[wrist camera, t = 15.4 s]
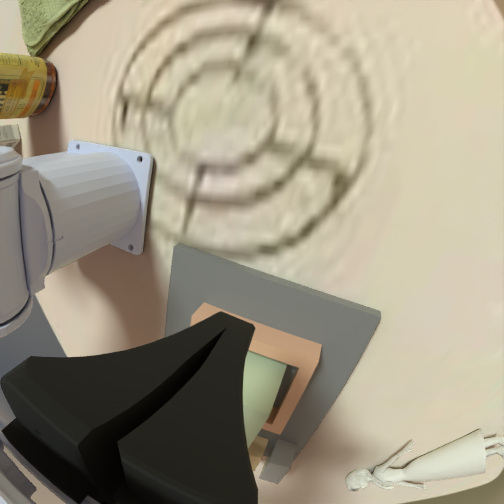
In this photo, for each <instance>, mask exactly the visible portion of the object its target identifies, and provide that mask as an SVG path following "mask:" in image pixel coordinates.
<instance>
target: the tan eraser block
mask: <svg viewBox="0 0 504 504" xmlns="http://www.w3.org/2000/svg"><path fill="white" fill-rule="evenodd" d="M268 440H269V439H266V438H263V437H260V436H256V437H255V439H254V440H253V442H252V443H251V445H250V446H249V448H248V452H249V457H250V462H251V466H252V470H253V471H255V469H256V467H257V466H258V464H259V462H260V461H261V459H262V457H263V454H264V451H265V448H266V446H267V443H268Z"/></svg>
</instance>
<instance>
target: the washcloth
mask: <svg viewBox="0 0 504 504" xmlns="http://www.w3.org/2000/svg"><path fill="white" fill-rule="evenodd" d="M18 1H19V6H20V12H21V18H22V32H23V39H24V42H25V44H26V46H27V49H28V52H29V54H30V55H31V56H33V57H38V55H39V53H40V52H43V49H44V48H45V47H46V45H47V44H48V42H49V41H50V40H51V39H52V38H53V37H54V35H55V34H56V33H57V32H58V30H59V29H60V28H61V27H62V26H63V25H64V24H66V23H68V22H69V21H70V19H71V18H72V17H73V16H74V15H75V14H76V13H77V12H78V11H79V10H80V9H81V8H82V7H83V6H84V5H85V3H86V2H87V1H88V0H18Z"/></svg>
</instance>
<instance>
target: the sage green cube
mask: <svg viewBox="0 0 504 504" xmlns="http://www.w3.org/2000/svg"><path fill="white" fill-rule="evenodd" d="M286 367H287V364H286V363H283V362H280V361H278V360H275V359H272V358H269V357H266V356H263V355H261V354H258V353H255V352H252V351H250V350H248V353H247V356H246V359H245V366H244V377H243V413H244V425H245V433H246V440H247V447H248V448H249V446H250V445H251V443H252V442H253V440H254V439H255V437H256V436H257V434H258V433H259V431H260V430H261V428H262V427H263V425H264V424H265V422H266V420H267V419H268V417H269V415H270V413H271V410H272V407H273V404H274V401H275V399H276V396H277V393H278V390H279V387H280V384H281V381H282V379H283V376H284V373H285V370H286Z"/></svg>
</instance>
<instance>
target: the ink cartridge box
mask: <svg viewBox="0 0 504 504" xmlns="http://www.w3.org/2000/svg"><path fill="white" fill-rule="evenodd" d="M20 140H21V138H20V133H19V129H18V125H17V124H12V125H1V126H0V146H7V147H12V148H13V149H14V148H15V147H16V145H17V144H18V142H19V141H20Z"/></svg>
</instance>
